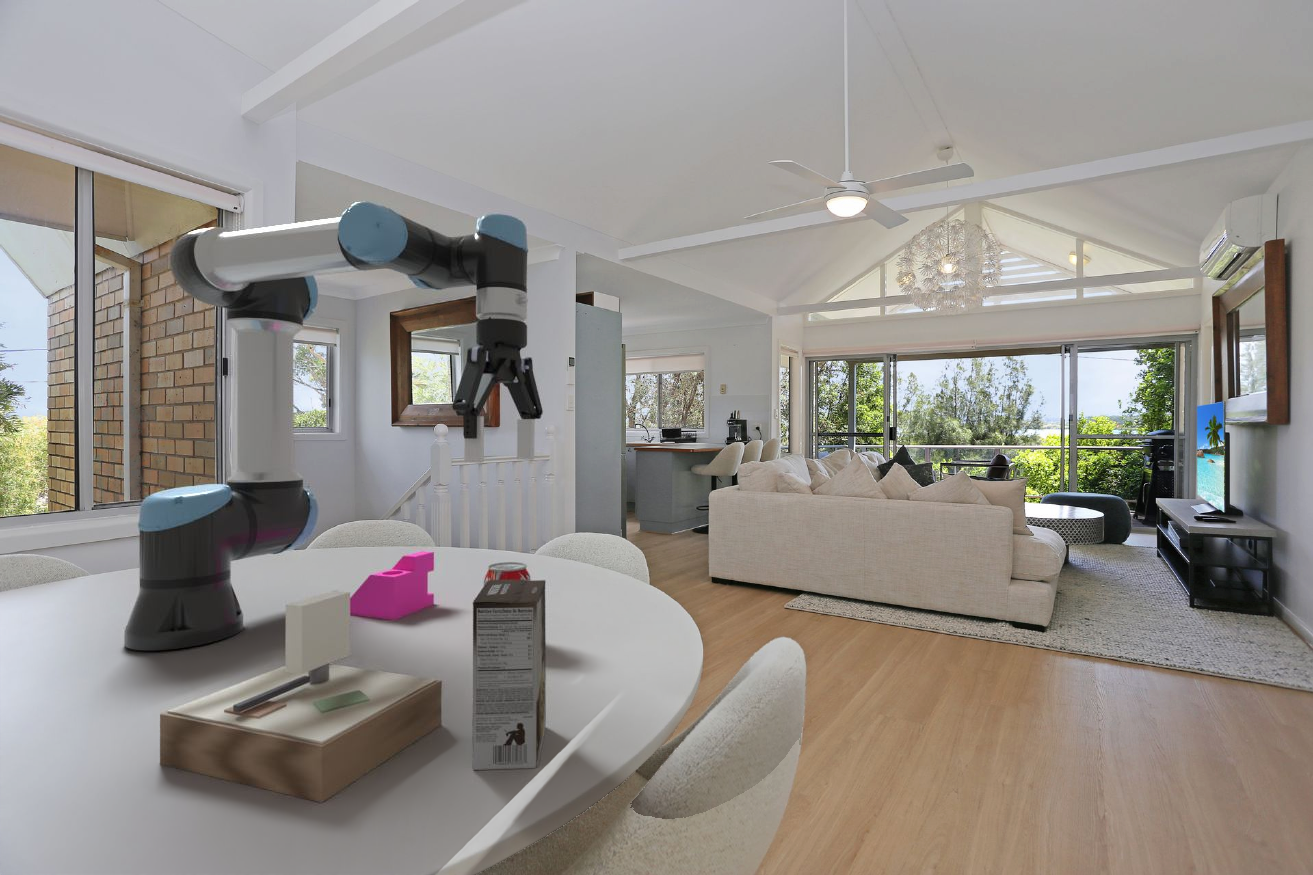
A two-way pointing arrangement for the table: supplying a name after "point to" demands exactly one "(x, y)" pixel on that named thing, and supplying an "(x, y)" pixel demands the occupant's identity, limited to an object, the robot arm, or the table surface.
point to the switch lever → (311, 641)
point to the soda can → (507, 572)
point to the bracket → (396, 589)
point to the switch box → (301, 729)
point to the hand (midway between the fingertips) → (501, 461)
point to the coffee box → (509, 674)
